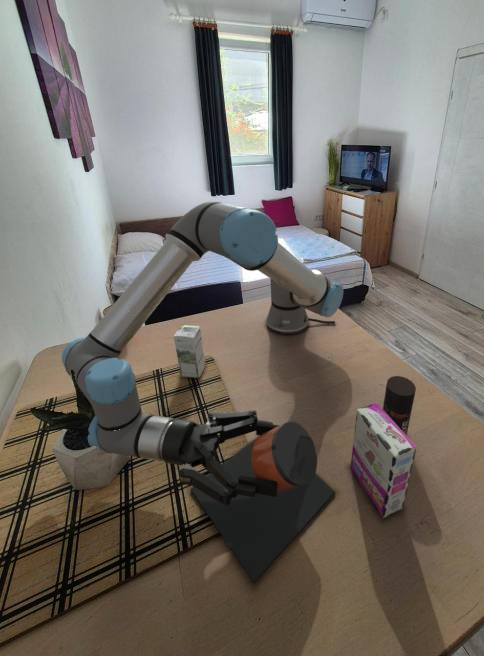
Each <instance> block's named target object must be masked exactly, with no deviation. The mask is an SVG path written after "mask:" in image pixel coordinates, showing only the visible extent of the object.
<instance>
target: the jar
mask: <svg viewBox="0 0 484 656" xmlns="http://www.w3.org/2000/svg"><path fill="white" fill-rule="evenodd" d="M257 437H258V438H257ZM257 437H256V438H257V440H256V441H255V443H254V446H253V450H252V466H253V470H254V474H255V476H256V478H259V479H264V480H270V481H275V482H277V493H281V492H284V491H287V490H290V489H293V488H296V487H299V486H303V485H305V484H308V483H309V482H310V481H311V480H312V479H313V477H314V475H315V474H316V473H317V467H318V456H317V449H316V446H315V444H314V440H313V438H312V437H311V434H310V433H309V432H308V430H306V428H305V427H303V425H302V424H300V423H299V422H296V421H286V422H284V423H282V424H280V425H279V426H278V427H276V428H274V429H272V430H270V431H268V432H265V433H263V434H262V435H260V436H259V435H258V436H257Z"/></svg>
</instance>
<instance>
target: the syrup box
mask: <svg viewBox="0 0 484 656" xmlns="http://www.w3.org/2000/svg"><path fill="white" fill-rule="evenodd" d="M173 340H174V345H175V351H176V358H177V362H178V368H179V374H180V377H181V378H193V379H199V378H200V377H201V376H202V373H203V372H204V370H205V367H206V359H205V353H204V345H203V336H202V329H201V326H200V325H186V324H185V325H184V324H181V325H180V326H179V327H178V328H177V330H176V332H175V333H174V334H173Z"/></svg>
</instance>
